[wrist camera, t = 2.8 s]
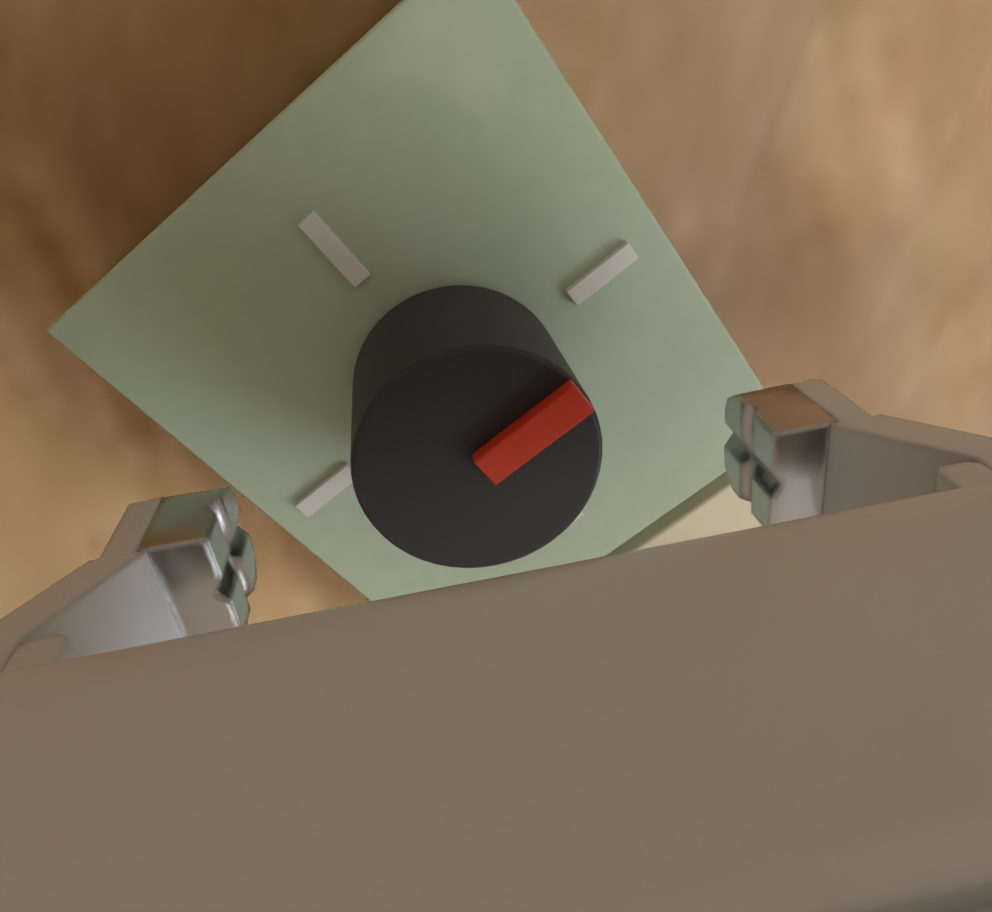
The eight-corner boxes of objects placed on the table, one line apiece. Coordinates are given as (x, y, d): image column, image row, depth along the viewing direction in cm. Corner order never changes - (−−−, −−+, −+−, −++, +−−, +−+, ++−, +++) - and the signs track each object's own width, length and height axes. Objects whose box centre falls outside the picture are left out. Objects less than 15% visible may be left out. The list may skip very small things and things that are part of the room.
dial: (444, 510, 16) (463, 620, 13) (307, 377, 14) (292, 469, 11) (598, 394, 15) (655, 482, 12) (474, 237, 14) (506, 296, 11)
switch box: (461, 609, 21) (479, 720, 18) (750, 401, 20) (833, 480, 16) (646, 775, 26) (689, 889, 23) (894, 619, 24) (983, 717, 21)
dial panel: (96, 283, 16) (40, 334, 13) (453, -48, 14) (474, -68, 11) (437, 588, 21) (448, 672, 18) (732, 374, 19) (793, 431, 16)
